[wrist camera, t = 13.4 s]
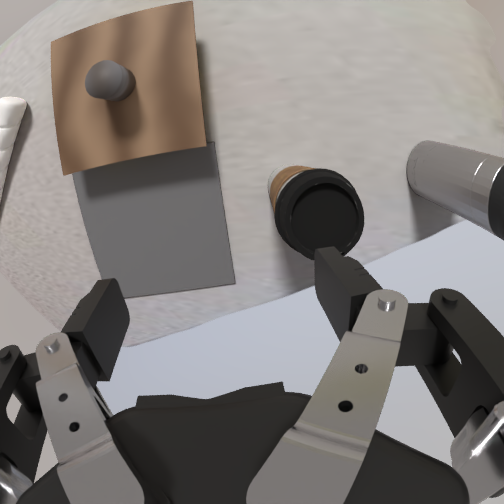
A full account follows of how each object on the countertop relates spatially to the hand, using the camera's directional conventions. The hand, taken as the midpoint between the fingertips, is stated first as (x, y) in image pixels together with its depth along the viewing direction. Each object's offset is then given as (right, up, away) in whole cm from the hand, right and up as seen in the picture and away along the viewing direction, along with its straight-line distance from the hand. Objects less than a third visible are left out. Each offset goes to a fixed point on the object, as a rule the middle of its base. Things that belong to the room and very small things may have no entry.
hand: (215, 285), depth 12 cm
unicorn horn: (-37, +15, +21) cm, 45 cm away
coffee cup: (+6, +10, +27) cm, 30 cm away
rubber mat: (-12, +5, +28) cm, 30 cm away
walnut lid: (-13, +20, +16) cm, 29 cm away
